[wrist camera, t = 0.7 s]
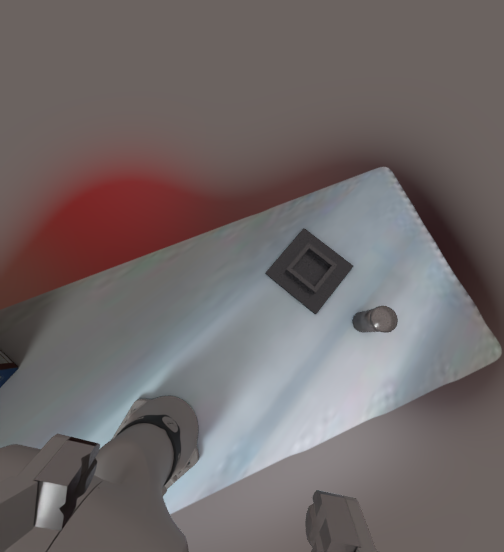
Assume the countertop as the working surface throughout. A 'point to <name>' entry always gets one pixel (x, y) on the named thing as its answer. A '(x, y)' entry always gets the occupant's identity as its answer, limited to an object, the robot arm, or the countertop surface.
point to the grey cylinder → (375, 320)
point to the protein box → (6, 368)
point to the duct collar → (309, 270)
